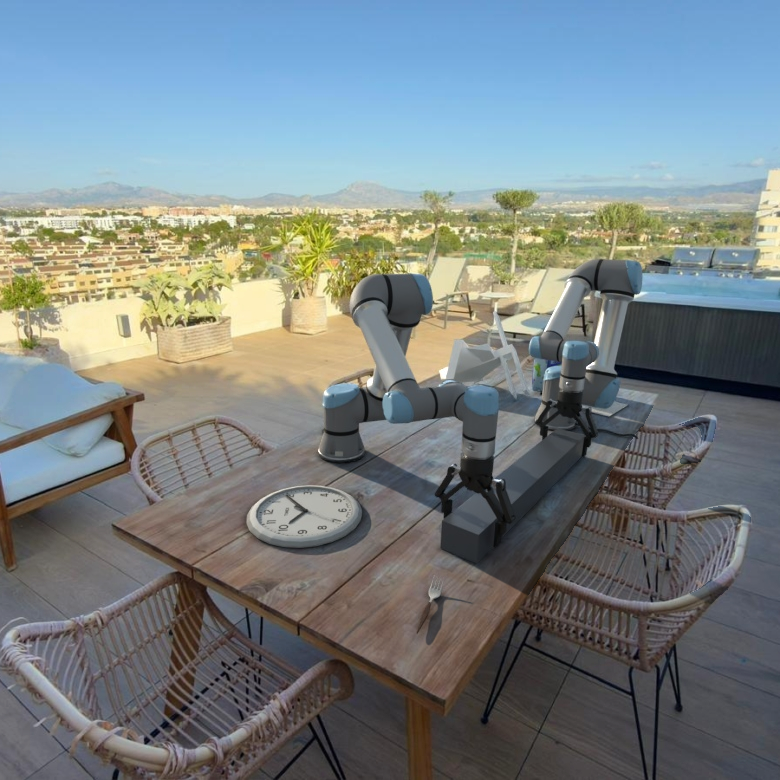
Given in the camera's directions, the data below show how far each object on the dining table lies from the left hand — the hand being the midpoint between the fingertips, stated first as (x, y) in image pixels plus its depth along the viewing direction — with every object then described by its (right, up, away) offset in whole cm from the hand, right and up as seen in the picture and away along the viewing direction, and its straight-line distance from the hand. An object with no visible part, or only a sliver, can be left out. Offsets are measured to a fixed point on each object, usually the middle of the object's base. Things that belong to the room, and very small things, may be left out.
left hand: (471, 534), depth 125 cm
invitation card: (+72, +27, +101) cm, 127 cm away
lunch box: (+57, +34, +123) cm, 140 cm away
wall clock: (-42, +2, +12) cm, 44 cm away
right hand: (+38, +15, +49) cm, 64 cm away
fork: (-12, -9, -21) cm, 26 cm away
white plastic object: (+22, +34, +118) cm, 124 cm away
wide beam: (+19, +5, +25) cm, 32 cm away
